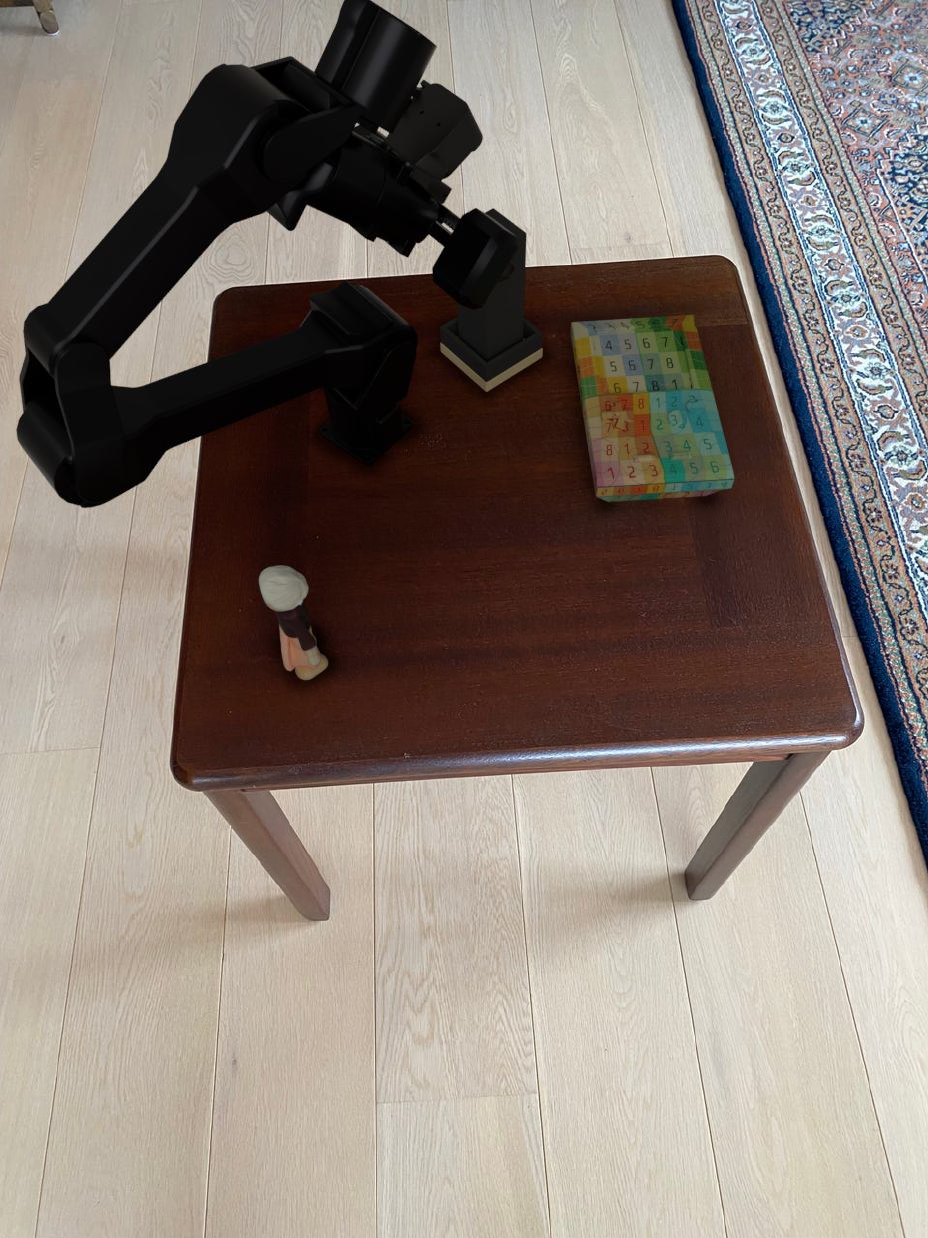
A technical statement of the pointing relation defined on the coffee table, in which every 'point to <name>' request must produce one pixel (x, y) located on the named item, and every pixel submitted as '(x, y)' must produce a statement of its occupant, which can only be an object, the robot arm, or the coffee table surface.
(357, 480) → the coffee table surface
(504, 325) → the pad block
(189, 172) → the robot arm
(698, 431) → the puzzle game
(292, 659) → the grandmother figurine
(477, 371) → the base pad
